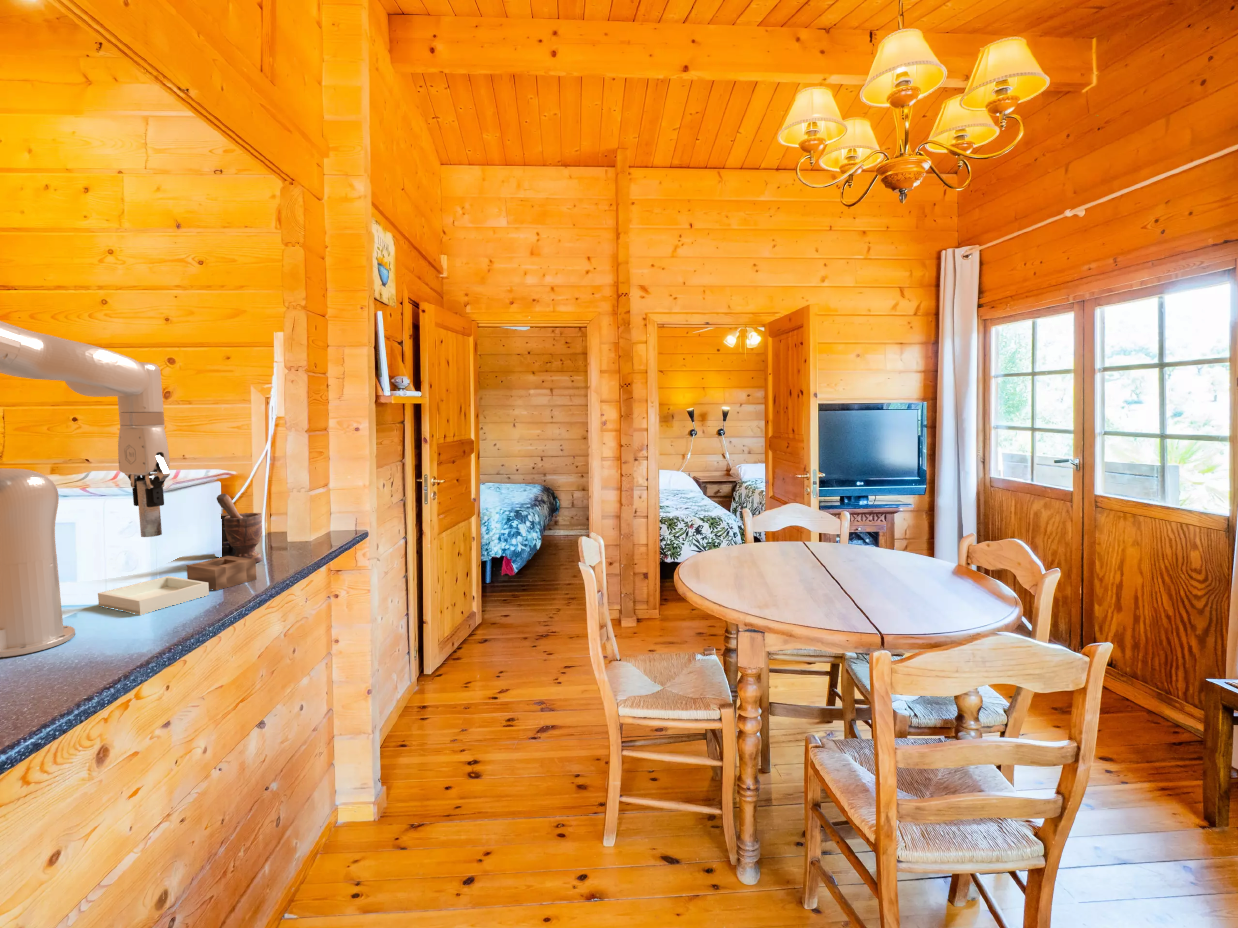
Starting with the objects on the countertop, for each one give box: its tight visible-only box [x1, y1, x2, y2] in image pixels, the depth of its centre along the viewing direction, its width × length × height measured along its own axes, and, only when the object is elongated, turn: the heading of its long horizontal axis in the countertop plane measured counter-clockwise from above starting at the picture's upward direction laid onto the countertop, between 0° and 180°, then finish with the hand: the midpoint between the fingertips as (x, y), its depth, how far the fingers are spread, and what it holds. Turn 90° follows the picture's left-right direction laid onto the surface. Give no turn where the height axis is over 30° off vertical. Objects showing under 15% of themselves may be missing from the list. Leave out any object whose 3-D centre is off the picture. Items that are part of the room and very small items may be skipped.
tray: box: [97, 575, 210, 616], centre depth 131 cm, size 14×14×3 cm
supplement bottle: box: [220, 512, 236, 557], centre depth 172 cm, size 7×7×12 cm
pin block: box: [186, 556, 257, 591], centre depth 145 cm, size 10×10×5 cm
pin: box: [137, 480, 163, 538], centre depth 130 cm, size 4×4×12 cm
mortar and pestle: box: [216, 493, 263, 563], centre depth 162 cm, size 12×9×20 cm
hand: (149, 504), depth 130 cm, fingers closed on pin, 3 cm apart
